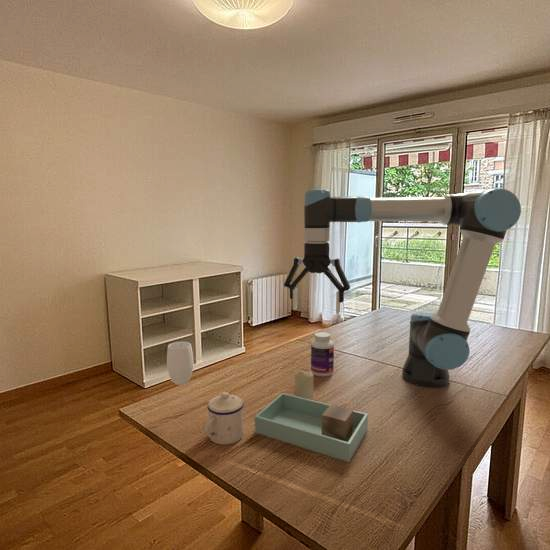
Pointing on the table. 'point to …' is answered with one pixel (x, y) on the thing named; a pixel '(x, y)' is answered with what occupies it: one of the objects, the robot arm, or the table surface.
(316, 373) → the pill bottle
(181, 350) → the grey rounded cylinder
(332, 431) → the walnut block
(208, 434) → the teacup with lid
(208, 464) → the table surface
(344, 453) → the tote
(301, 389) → the candle
